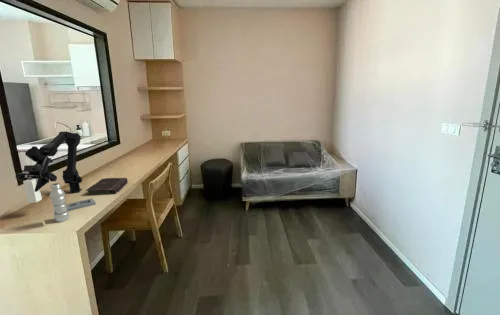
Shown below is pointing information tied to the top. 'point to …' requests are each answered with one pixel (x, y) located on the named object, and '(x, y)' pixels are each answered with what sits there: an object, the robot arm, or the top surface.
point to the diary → (107, 186)
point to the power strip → (80, 204)
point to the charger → (32, 190)
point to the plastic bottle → (59, 203)
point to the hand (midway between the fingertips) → (30, 191)
